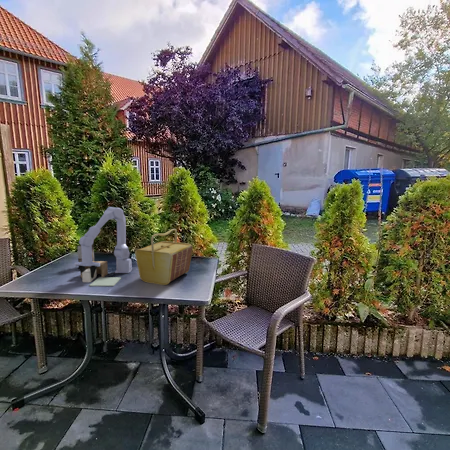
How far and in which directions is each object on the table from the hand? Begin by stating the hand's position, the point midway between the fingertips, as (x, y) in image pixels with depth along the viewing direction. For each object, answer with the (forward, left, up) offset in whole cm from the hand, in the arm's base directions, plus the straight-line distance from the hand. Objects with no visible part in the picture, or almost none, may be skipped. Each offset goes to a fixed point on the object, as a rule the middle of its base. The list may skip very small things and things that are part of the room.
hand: (88, 277), depth 179 cm
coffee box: (+13, -28, -2) cm, 31 cm away
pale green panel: (-12, +3, -2) cm, 12 cm away
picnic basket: (-46, -6, -2) cm, 46 cm away
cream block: (0, -2, -2) cm, 3 cm away
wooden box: (0, -9, -2) cm, 9 cm away
